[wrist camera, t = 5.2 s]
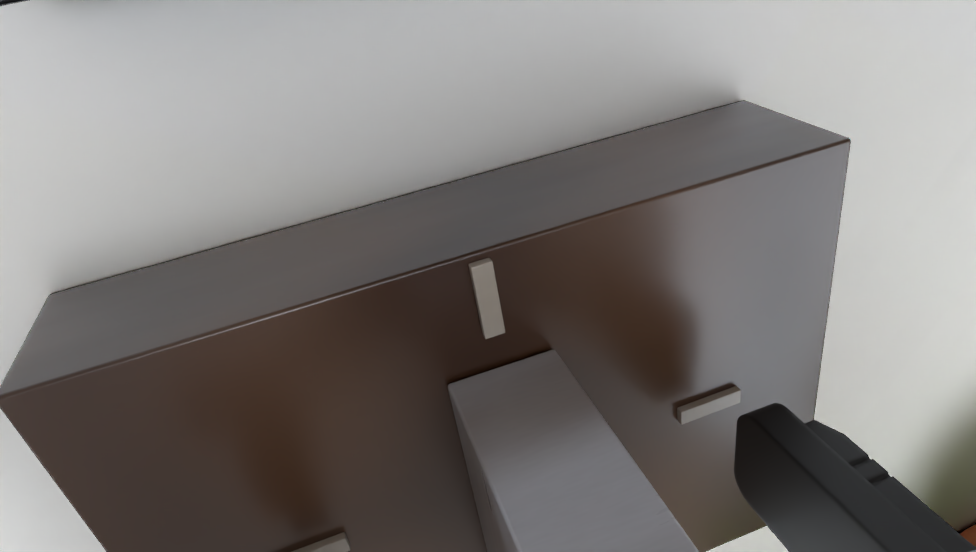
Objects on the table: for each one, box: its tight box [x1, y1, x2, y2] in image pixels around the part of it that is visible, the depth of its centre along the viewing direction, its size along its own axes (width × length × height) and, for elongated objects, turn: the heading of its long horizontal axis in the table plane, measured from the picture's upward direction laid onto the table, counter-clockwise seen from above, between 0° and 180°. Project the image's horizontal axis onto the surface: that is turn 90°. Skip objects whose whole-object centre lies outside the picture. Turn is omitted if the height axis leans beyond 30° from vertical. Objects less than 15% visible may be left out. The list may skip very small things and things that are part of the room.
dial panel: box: [0, 100, 851, 552], centre depth 14 cm, size 14×10×3 cm
